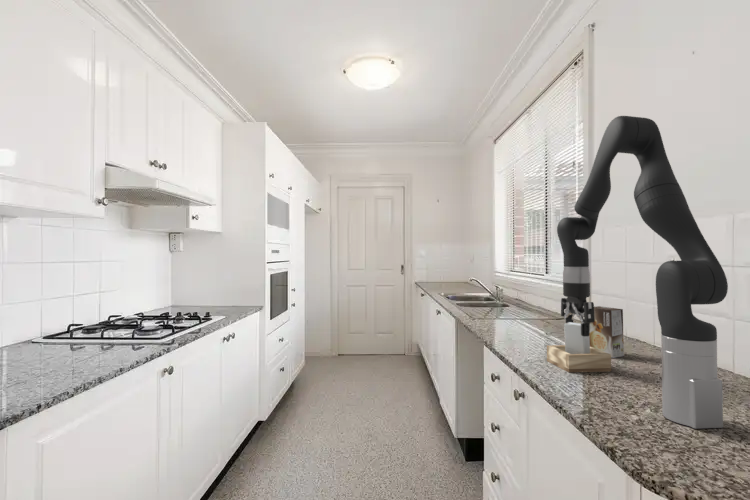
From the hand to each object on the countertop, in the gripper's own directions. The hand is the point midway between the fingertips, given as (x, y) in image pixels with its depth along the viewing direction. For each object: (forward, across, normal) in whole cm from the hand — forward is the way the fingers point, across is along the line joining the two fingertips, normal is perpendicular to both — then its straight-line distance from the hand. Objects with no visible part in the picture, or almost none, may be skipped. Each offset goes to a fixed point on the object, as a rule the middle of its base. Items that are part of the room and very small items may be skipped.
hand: (577, 333), depth 125 cm
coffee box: (+10, +13, -18) cm, 25 cm away
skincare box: (+9, 0, 0) cm, 9 cm away
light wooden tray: (+10, 0, 0) cm, 10 cm away
